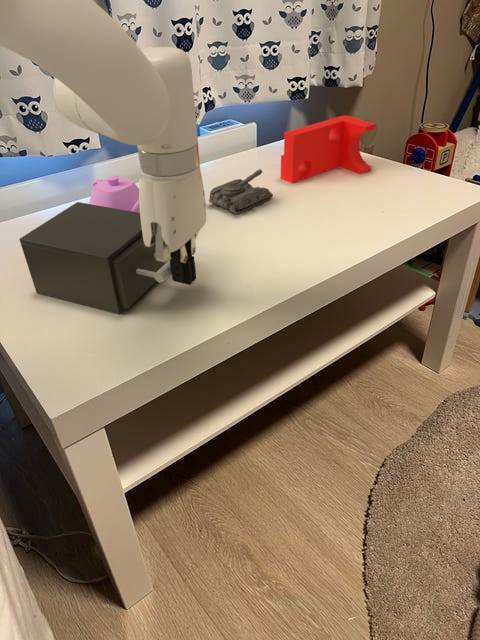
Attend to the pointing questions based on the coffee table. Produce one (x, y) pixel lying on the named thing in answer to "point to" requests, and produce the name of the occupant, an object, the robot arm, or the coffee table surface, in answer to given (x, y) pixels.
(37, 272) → the small drawer cabinet
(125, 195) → the teapot
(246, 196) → the tank toy
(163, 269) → the pulled-out drawer
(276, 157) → the coffee table surface
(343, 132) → the bracket
